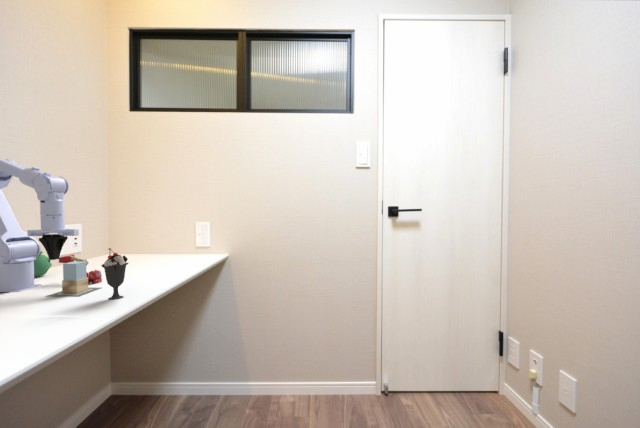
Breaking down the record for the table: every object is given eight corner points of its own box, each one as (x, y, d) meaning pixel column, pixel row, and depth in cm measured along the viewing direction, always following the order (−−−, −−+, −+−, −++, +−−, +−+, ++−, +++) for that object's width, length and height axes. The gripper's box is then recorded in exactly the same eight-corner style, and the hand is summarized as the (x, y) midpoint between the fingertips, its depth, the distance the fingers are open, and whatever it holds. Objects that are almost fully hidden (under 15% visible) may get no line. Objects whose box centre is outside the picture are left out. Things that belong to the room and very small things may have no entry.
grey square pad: (45, 297, 93) (45, 296, 93) (72, 288, 103) (72, 287, 103) (79, 297, 93) (79, 296, 93) (103, 288, 103) (103, 287, 103)
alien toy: (56, 275, 123) (55, 249, 123) (31, 279, 116) (30, 252, 116) (46, 273, 126) (45, 248, 125) (21, 277, 119) (20, 250, 118)
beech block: (62, 293, 96) (62, 280, 96) (74, 289, 100) (73, 277, 100) (77, 293, 96) (76, 280, 96) (88, 289, 100) (88, 277, 100)
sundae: (100, 304, 87) (99, 249, 87) (103, 297, 93) (102, 246, 93) (128, 300, 90) (127, 247, 90) (130, 294, 96) (129, 245, 96)
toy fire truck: (96, 285, 108) (95, 256, 108) (58, 284, 109) (58, 256, 109) (103, 282, 111) (103, 255, 111) (67, 281, 113) (66, 254, 112)
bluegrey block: (73, 277, 100) (73, 261, 100) (86, 277, 100) (86, 261, 100) (63, 280, 96) (62, 263, 96) (76, 280, 96) (76, 263, 96)
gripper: (17, 216, 95) (18, 261, 95) (65, 215, 94) (66, 261, 95) (38, 215, 102) (40, 257, 102) (83, 214, 101) (84, 257, 102)
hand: (54, 259), depth 99 cm, fingers closed
